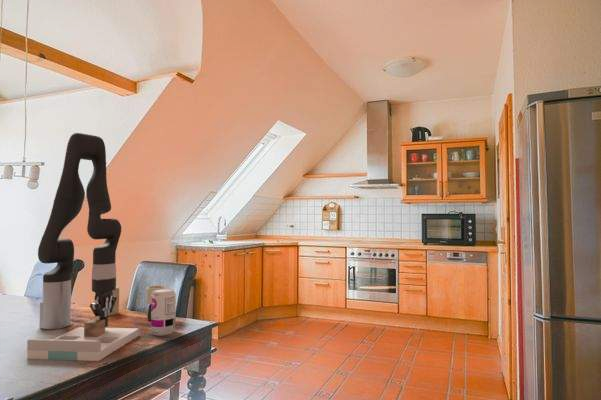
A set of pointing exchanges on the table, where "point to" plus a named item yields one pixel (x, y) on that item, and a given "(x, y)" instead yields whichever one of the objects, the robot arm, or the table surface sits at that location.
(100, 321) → the walnut block
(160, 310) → the supplement can
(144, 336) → the table surface
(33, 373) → the table surface
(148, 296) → the character mug
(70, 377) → the table surface
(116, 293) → the box
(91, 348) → the board
